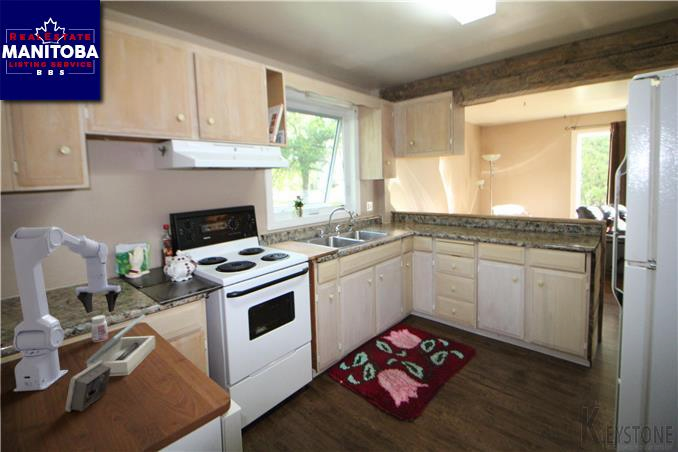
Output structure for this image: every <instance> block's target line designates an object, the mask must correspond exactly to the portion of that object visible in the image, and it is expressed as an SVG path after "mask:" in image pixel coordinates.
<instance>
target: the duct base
mask: <svg viewBox="0 0 678 452" xmlns="http://www.w3.org/2000/svg"><path fill="white" fill-rule="evenodd" d="M156 347H157V346H156V336H155V335H144V336H125V337H124V336H122V337H121V338H119V339H118V340H117V341H116V342H114V343H113V344H112V345H111V346H109V347H108V348H107V349H105V350H104V351H103V352H102V353H100V354H99V355H98V356H97V357H95V358H94V359H93V360H92V361H90V362H89V363H88V364H87V363H86V366H87V368H88V367H90V366H91V365H93V364H95V363H96V362H98V361H103V362H104V364H103V365H105V366H107V367H110V368H111V369H110V375H109V377H116V376H117V377H118V376H128V375H130V374H131V373H132V372H133V371H134V370H135V369H136V368H137V367H138V365H140V363H142V362H143V361H144V359H145V358H146V357H147V356H149V355H150V353H151V352H152V351H154V349H155V348H156ZM87 368H86V369H87ZM103 376H104V375H103Z"/></svg>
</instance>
